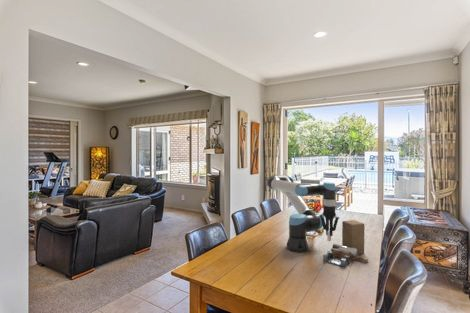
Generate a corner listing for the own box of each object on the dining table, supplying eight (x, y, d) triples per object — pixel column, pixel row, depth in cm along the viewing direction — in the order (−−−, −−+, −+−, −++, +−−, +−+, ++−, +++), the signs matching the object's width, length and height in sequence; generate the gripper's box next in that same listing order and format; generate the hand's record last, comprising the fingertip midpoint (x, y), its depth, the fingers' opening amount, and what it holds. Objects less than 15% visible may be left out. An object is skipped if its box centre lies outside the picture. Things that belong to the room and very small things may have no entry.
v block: (323, 261, 163) (323, 254, 163) (328, 257, 169) (328, 250, 169) (344, 267, 154) (344, 260, 154) (349, 262, 161) (350, 256, 161)
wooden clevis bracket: (330, 256, 171) (330, 248, 171) (337, 251, 179) (337, 244, 179) (365, 265, 157) (365, 256, 157) (370, 259, 165) (370, 251, 165)
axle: (332, 252, 173) (331, 246, 172) (335, 248, 177) (334, 242, 175) (355, 258, 164) (354, 251, 163) (357, 254, 167) (356, 247, 166)
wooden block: (351, 255, 173) (352, 224, 173) (341, 249, 183) (342, 220, 183) (364, 253, 176) (364, 223, 176) (354, 248, 185) (354, 219, 185)
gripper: (317, 205, 178) (317, 239, 178) (337, 207, 170) (337, 244, 170) (322, 203, 184) (322, 237, 184) (341, 205, 175) (341, 241, 175)
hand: (329, 240), depth 177 cm, fingers closed
